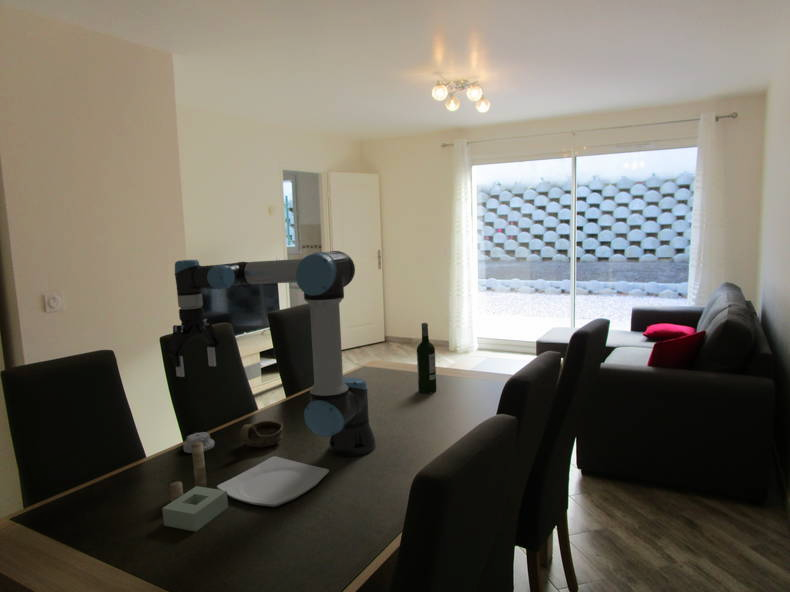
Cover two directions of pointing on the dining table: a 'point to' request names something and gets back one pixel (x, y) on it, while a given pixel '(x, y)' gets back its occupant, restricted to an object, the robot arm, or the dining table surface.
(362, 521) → the dining table surface
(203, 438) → the mechanical component
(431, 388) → the wine bottle
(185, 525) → the hole block
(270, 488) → the plate
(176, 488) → the short dowel
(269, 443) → the brown mug
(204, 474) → the long dowel
